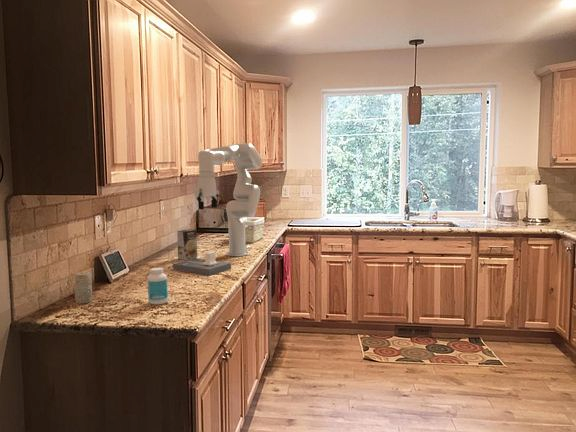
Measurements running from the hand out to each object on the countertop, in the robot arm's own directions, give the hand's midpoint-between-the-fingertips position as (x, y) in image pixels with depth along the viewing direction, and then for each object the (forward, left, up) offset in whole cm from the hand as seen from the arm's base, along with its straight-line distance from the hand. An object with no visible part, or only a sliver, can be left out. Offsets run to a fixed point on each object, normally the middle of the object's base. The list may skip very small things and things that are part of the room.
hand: (207, 208), depth 252 cm
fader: (+8, +8, -27) cm, 29 cm away
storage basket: (-73, -31, -31) cm, 85 cm away
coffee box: (-8, -24, -31) cm, 40 cm away
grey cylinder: (+74, +1, -31) cm, 80 cm away
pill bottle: (+59, +27, -31) cm, 72 cm away
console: (+8, +2, -30) cm, 31 cm away
